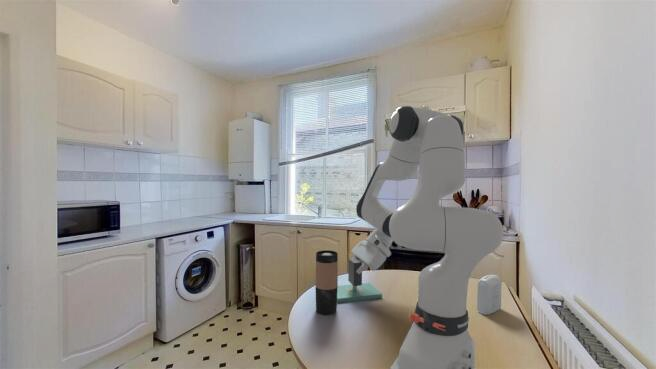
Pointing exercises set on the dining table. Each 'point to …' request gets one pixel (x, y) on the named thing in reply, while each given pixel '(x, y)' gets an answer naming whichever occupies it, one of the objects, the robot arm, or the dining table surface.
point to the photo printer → (489, 294)
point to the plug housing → (354, 272)
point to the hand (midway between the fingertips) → (353, 269)
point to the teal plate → (357, 292)
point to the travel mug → (326, 282)
